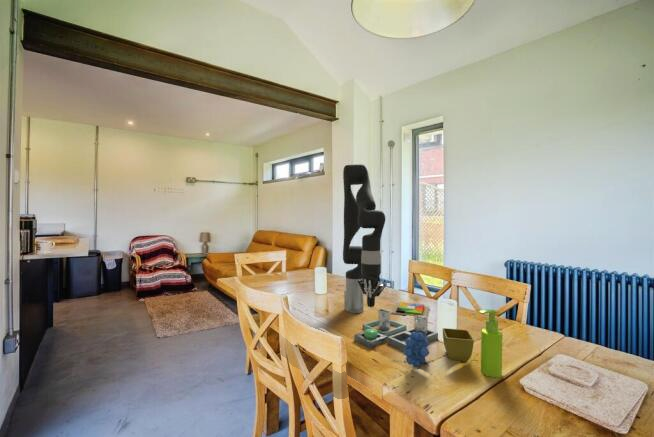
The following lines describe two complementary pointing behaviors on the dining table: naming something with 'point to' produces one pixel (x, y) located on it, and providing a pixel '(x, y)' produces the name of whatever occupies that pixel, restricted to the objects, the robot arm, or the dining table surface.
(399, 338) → the tray
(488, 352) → the soap dispenser
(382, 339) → the grey button housing
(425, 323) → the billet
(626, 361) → the dining table surface
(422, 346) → the grapes
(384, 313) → the cylinder
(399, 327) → the tray
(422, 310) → the wooden puzzle
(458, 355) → the flower pot
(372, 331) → the button
